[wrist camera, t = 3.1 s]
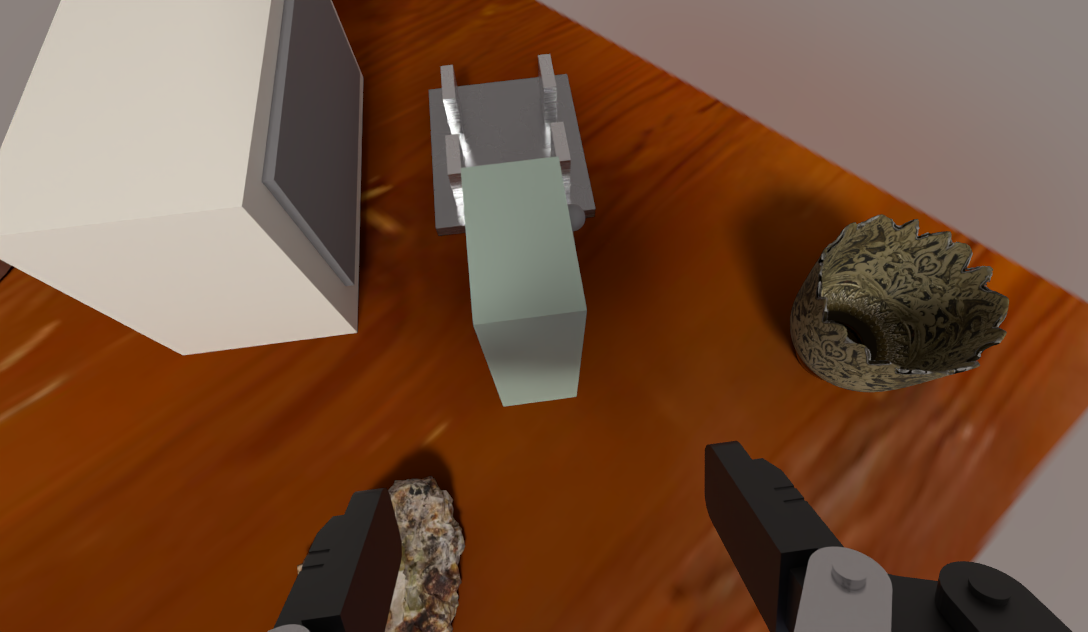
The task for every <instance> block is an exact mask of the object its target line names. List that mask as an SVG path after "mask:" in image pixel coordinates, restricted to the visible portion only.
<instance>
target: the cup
mask: <svg viewBox="0 0 1088 632" xmlns="http://www.w3.org/2000/svg"><path fill="white" fill-rule="evenodd" d="M918 229H919V221H918V219H914V220H911V221H909V222H907V223H905V224H903V225H901V226H897V225H896V224H895V223H894V222H893V220H892V219H890V218H888V217H886V216H884V215H877V216H874V217H872V218H870V219H868V220H866V221H864V222H861V223H860V224H856V222H854V223H851V224H849V225H848V226H846V227H845V228H844V229H843V230H842V232H841V234H840V235H839V236H838V237H837V239H836V240H835V241H834V242H833V243H832V244H829V245H828V246H827V248H825V249H824V250H823V252H822V253H821V256H820V258H819V259H818V261H817V262H816V264H815V265H814V267H813V269H812V270H811V272H810V273H809V275H808V277H807V278H806V280H805V282H804V283H803V285H802V287H801V289H800V290H799V292H798V294H797V296H796V299H795V301H794V304H793V307H792V311H791V315H790V333H791V338H792V342H793V344H794V347H795V352H796V356H797V358H798V360H799V362H800V364H801V365H802V366H803V368H804V369H805V370H806V371H807V372H809V373H810V374H811V375H813V376H814V377H816V378H819V379H821V380H824V381H827V382H829V383H831V384H833V385H835V386H838V387H841V388H845V389H848V390H853V391H859V392H882V391H888V390H894V389H899V388H904V387H908V386H912V385H915V384H919V383H923V382H926V381H930V380H934V379H937V378H941V377H944V376H948V375H952V374H956V373H960V372H963V371H967V370H970V369H973V368H976V367H978V366H980V364H979V363H978V361H977V362H976V360H978V359H979V358H980V357H981V353H982V352H983V351H984V350H985V349H987V348H989V347H991V346H993V345H997V344H999V343H1000V342H1001V341H1002V340H1003V338H1004V337H1005V335H1006V333H1007V332H1006V331H1005V330H1002V329H1000V328H998V327H999V326H1000V324H1001V323H1002V322H1003V321H1004V319H1005V317H1006V315H1007V311H1008V305H1009V299H1008V298H1007V297H1006V296H1004V295H1002V294H1000V293H998V292H996V291H992V290H990V289H989V288H988V287H986V286H985V287H984V285H985V284H986V282H988V281H989V282H990V279H991V276H992V271H993V269H992V268H991V267H990V266H981V267H975V268H967V266H968V264H969V262H970V260H971V257H972V250H971V248H970V246H969V245H967V244H965V243H960V242H956V243H951V242H952V240H951V232H949V231H946V232H937V233H932V234H930V233H925V234H923V235H921V236H917V234H918ZM965 269H966V270H969V271H965ZM972 269H975V270H972ZM986 285H987V284H986ZM974 361H975V362H974Z"/></svg>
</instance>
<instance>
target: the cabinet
mask: <svg viewBox="0 0 1088 632" xmlns="http://www.w3.org/2000/svg"><path fill="white" fill-rule="evenodd" d="M362 113H363V75H362V73H361V71H360V68H359V66H358V63H357V61H356V58H355V56H354V54H353V51H352V49H351V46H350V44H349V41H348V39H347V36H346V34H345V32H344V29H343V27H342V24H341V22H340V19H339V17H338V15H337V12H336V10H335V7H334V5H333V2H332V0H61V1H60V4H59V6H58V8H57V11H56V13H55V16H54V18H53V21H52V23H51V26H50V28H49V31H48V33H47V35H46V38H45V40H44V43H43V45H42V48H41V50H40V53H39V55H38V57H37V60H36V62H35V65H34V67H33V70H32V72H31V75H30V77H29V80H28V82H27V85H26V87H25V89H24V92H23V94H22V97H21V99H20V102H19V104H18V107H17V109H16V111H15V114H14V116H13V119H12V121H11V124H10V126H9V129H8V131H7V133H6V136H5V138H4V141H3V143H2V146H1V148H0V260H2V261H4V262H6V263H8V264H10V265H12V266H14V267H16V268H18V269H19V270H21V271H23V272H25V273H27V274H29V275H31V276H33V277H35V278H37V279H39V280H40V281H42V282H44V283H46V284H48V285H50V286H52V287H54V288H56V289H58V290H59V291H61V292H63V293H65V294H67V295H69V296H71V297H73V298H75V299H77V300H79V301H80V302H82V303H84V304H86V305H88V306H90V307H92V308H94V309H96V310H98V311H100V312H101V313H103V314H105V315H107V316H109V317H111V318H113V319H115V320H117V321H119V322H121V323H122V324H124V325H126V326H128V327H130V328H132V329H134V330H136V331H138V332H140V333H141V334H143V335H145V336H147V337H149V338H151V339H153V340H155V341H157V342H159V343H161V344H162V345H164V346H166V347H168V348H170V349H172V350H174V351H176V352H178V353H180V354H182V355H188V354H196V353H204V352H211V351H219V350H227V349H235V348H242V347H250V346H258V345H266V344H273V343H281V342H289V341H297V340H304V339H312V338H320V337H328V336H335V335H343V334H351V333H357V325H358V283H359V241H360V198H361V156H362Z"/></svg>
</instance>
